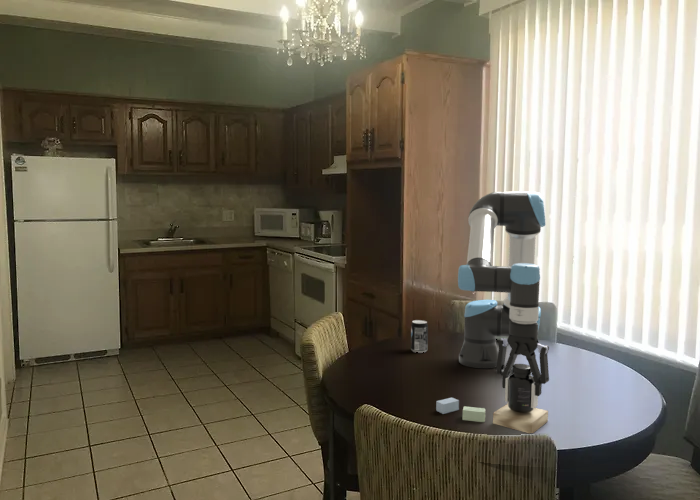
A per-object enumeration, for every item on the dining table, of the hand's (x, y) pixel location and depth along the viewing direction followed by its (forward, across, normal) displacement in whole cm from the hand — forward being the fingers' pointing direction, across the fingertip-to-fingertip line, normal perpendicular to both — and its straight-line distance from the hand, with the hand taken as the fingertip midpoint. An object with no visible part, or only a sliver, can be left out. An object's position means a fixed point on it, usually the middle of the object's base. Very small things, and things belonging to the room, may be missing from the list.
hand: (521, 403), depth 157 cm
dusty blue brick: (+6, -20, -5) cm, 21 cm away
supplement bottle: (+2, 0, 0) cm, 2 cm away
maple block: (+5, 0, 0) cm, 5 cm away
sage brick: (+6, -11, -6) cm, 14 cm away
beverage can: (+6, -61, +43) cm, 75 cm away
